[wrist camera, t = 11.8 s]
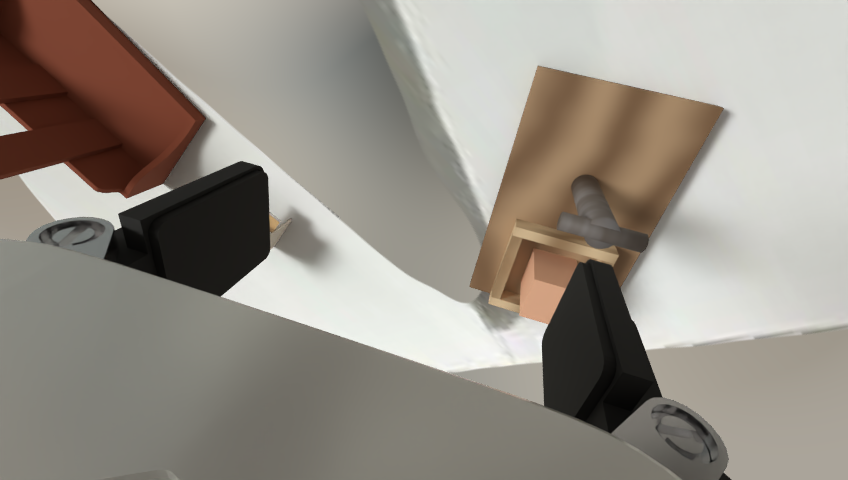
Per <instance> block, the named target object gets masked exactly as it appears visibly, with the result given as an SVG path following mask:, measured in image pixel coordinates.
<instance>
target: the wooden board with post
mask: <svg viewBox="0 0 848 480" xmlns="http://www.w3.org/2000/svg"><path fill="white" fill-rule="evenodd" d="M723 109H724V108H722V107H719V106H716V105H712V104H707V103H703V102H698V101H694V100H689V99H685V98H680V97H676V96H671V95H667V94H662V93H658V92H654V91H649V90H645V89H640V88H636V87H631V86H627V85H622V84H618V83H613V82H609V81H604V80H600V79H595V78H591V77H586V76H582V75H577V74H573V73H569V72H564V71H560V70H555V69H551V68H546V67H542V66H538V67H537V70H536V73H535V77H534V80H533V83H532V86H531V89H530V93H529V96H528V99H527V102H526V105H525V109H524V112H523V115H522V118H521V122H520V125H519V128H518V131H517V134H516V138H515V141H514V144H513V147H512V150H511V154H510V157H509V160H508V163H507V167H506V170H505V173H504V176H503V179H502V183H501V186H500V189H499V192H498V195H497V199H496V202H495V205H494V208H493V212H492V215H491V218H490V221H489V224H488V228H487V231H486V234H485V237H484V240H483V244H482V247H481V250H480V253H479V257H478V260H477V263H476V266H475V270H474V273H473V276H472V279H471V283H470V287H471V288H475V289H478V290H481V291H485V292H488V293H490V298H489V304H491V305H495V306H498V307H501V308H505V309H508V310H511V311H514V312H518V313H520V289H521V280H522V277H523V274H524V272H525V269H526V267H527V264H528V262H529V259H530V256H531V254H532V251H533V249H534V248H536V249H539V250H543V251H547V252H550V253H554V254H557V255H561V256H565V257H568V258H572V259H576V260H577V265H578V263H579V262H583V263H586V261H587V260H589V259H592V260H595V261H599V262H602V263H606V264H610V265H612V267H613V269H614V272H615V275H616V278H617V281H618V283H619V286H620V287H621V286H622V284H623V282H624V281H625V279H626V277H627V275H628V274H629V272H630V270H631V268H632V267H633V265H634V263H635V261H636V260H637V258H638V256H639V255H640V253H642V252H643V251H644V250H645V249H646V247H647V245H648V241H649V237H650V235H651V234H652V232H653V230H654V229H655V227H656V225H657V223H658V222H659V220H660V218H661V216H662V215H663V213H664V211H665V209H666V208H667V206H668V204H669V203H670V201H671V199H672V197H673V196H674V194H675V192H676V190H677V189H678V187H679V185H680V183H681V182H682V180H683V178H684V176H685V175H686V173H687V171H688V170H689V168H690V166H691V164H692V163H693V161H694V159H695V157H696V156H697V154H698V152H699V150H700V149H701V147H702V145H703V144H704V142H705V140H706V138H707V137H708V135H709V133H710V131H711V130H712V128H713V126H714V124H715V123H716V121H717V119H718V118H719V116H720V114H721V112H722V111H723Z"/></svg>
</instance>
